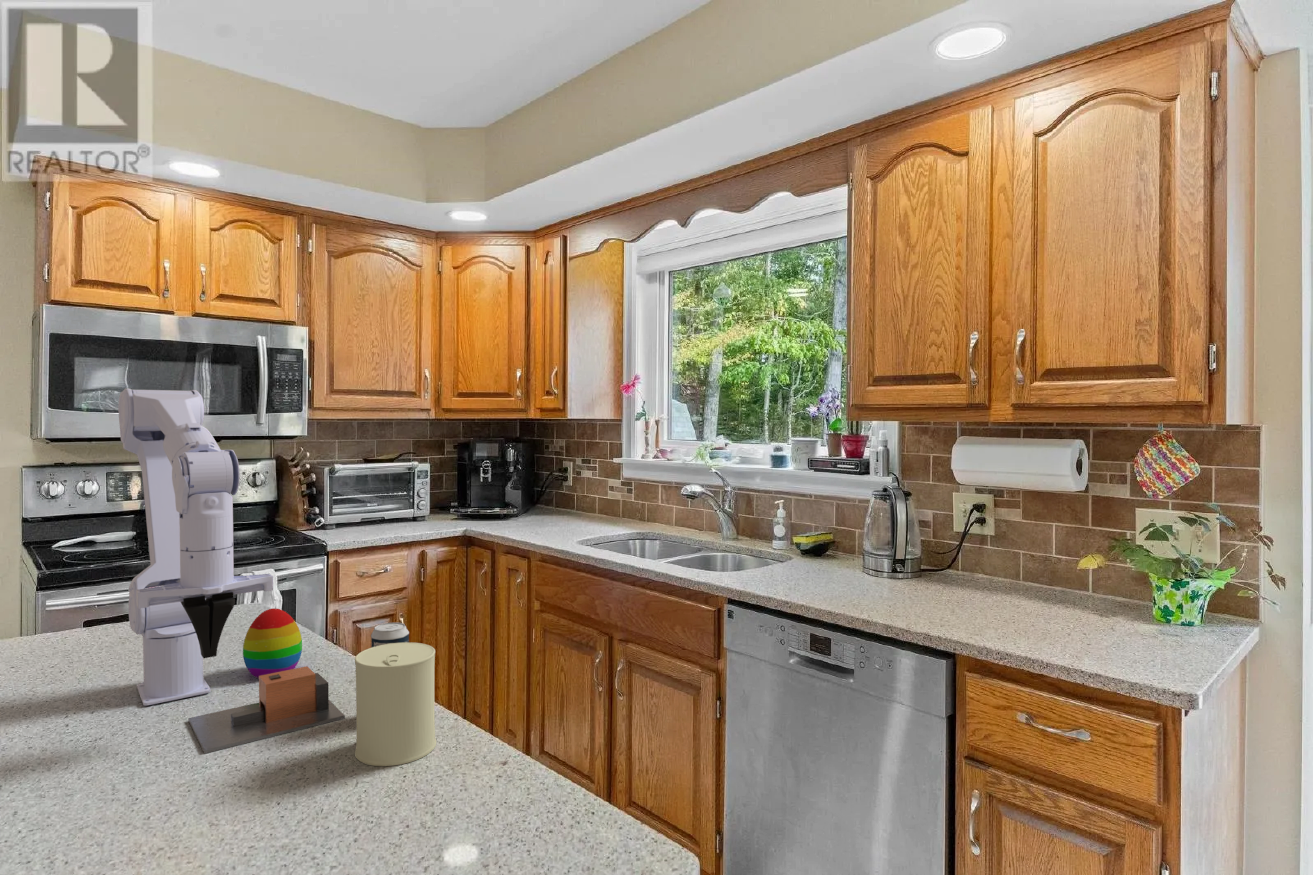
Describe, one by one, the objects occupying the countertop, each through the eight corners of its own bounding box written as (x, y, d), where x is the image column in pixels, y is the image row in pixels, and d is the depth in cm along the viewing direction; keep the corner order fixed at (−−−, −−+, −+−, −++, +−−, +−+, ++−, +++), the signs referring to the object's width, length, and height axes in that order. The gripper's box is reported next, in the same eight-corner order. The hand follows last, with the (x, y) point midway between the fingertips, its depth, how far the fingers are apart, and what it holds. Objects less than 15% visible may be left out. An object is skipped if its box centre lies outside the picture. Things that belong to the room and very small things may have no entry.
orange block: (259, 713, 98) (258, 674, 98) (307, 702, 102) (307, 665, 102) (266, 722, 95) (265, 683, 95) (315, 711, 99) (315, 673, 99)
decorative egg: (314, 666, 118) (313, 604, 118) (275, 684, 110) (275, 617, 110) (270, 661, 120) (270, 600, 120) (230, 679, 112) (229, 613, 112)
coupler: (188, 721, 97) (187, 690, 97) (318, 692, 107) (317, 664, 107) (204, 753, 88) (203, 720, 87) (344, 718, 98) (344, 688, 98)
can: (350, 771, 83) (349, 665, 83) (359, 736, 92) (359, 641, 92) (435, 761, 86) (434, 658, 86) (437, 728, 95) (436, 635, 94)
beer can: (363, 718, 98) (362, 628, 97) (391, 706, 102) (391, 619, 102) (389, 726, 95) (388, 633, 95) (417, 712, 100) (416, 624, 99)
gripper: (139, 559, 85) (142, 677, 85) (278, 545, 94) (280, 651, 94) (133, 550, 90) (135, 661, 90) (265, 538, 99) (266, 638, 100)
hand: (208, 655), depth 93 cm, fingers closed
